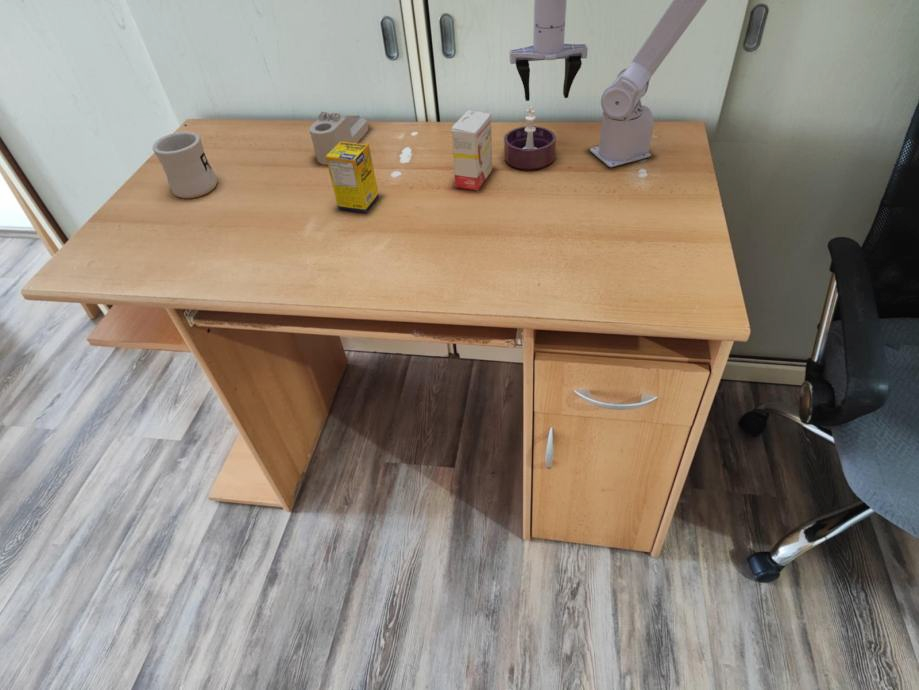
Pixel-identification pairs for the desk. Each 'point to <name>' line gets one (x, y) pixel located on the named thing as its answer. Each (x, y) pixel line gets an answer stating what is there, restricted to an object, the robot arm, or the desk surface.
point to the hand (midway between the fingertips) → (546, 97)
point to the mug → (185, 164)
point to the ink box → (472, 149)
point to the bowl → (529, 157)
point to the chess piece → (530, 128)
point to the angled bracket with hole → (335, 132)
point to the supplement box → (352, 176)
